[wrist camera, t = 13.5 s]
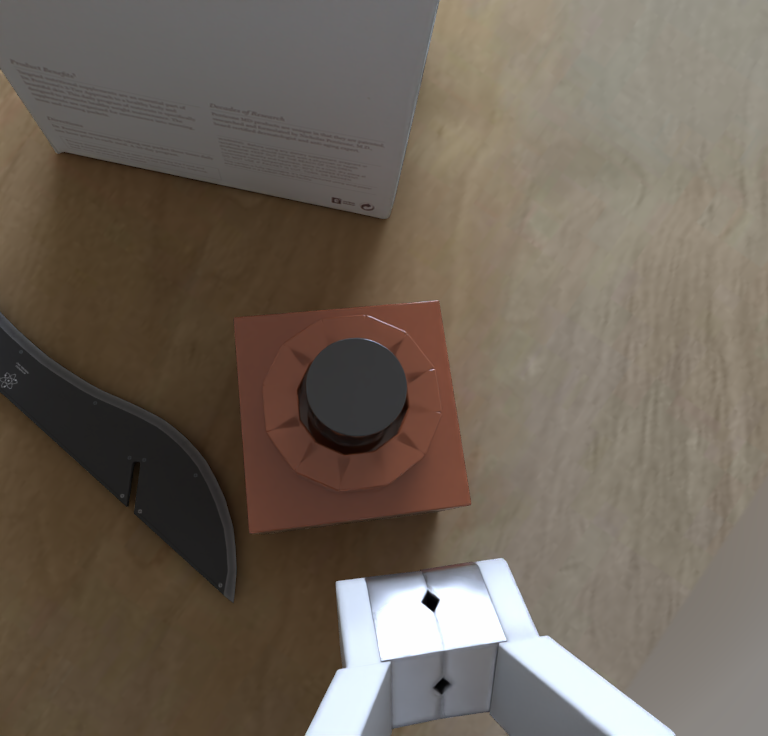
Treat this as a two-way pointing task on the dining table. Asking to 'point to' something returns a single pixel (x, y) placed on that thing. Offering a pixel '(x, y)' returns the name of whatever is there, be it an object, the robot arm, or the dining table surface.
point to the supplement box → (229, 89)
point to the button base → (336, 462)
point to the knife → (126, 455)
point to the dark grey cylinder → (355, 391)
